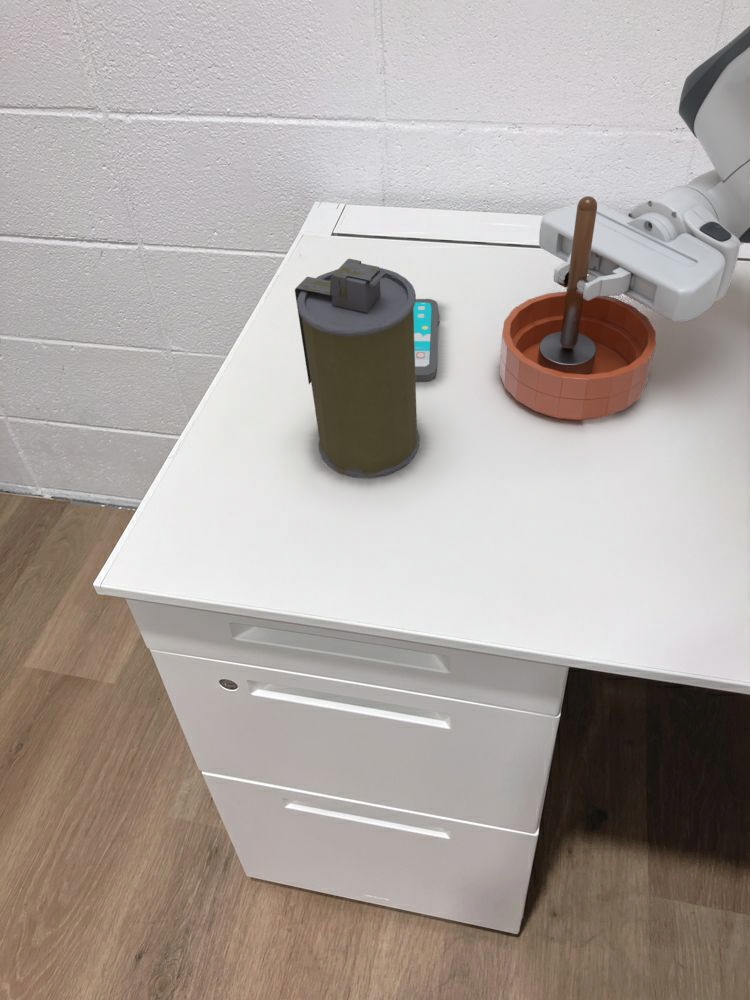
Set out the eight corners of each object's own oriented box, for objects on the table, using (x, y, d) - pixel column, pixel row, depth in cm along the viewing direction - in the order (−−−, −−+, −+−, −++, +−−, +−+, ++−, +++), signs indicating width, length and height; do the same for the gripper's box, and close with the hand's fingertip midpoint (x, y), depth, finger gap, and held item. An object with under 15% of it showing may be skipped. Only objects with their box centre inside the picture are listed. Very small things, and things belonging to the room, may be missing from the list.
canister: (435, 424, 84) (434, 250, 70) (393, 490, 78) (382, 314, 63) (343, 399, 88) (324, 230, 73) (296, 460, 81) (265, 288, 67)
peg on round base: (601, 354, 88) (631, 189, 74) (582, 385, 84) (609, 218, 71) (549, 340, 90) (569, 177, 76) (529, 370, 87) (545, 205, 73)
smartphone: (360, 373, 89) (370, 298, 99) (361, 380, 90) (370, 305, 100) (438, 373, 88) (439, 297, 98) (438, 380, 89) (439, 304, 99)
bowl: (662, 357, 90) (674, 311, 85) (618, 442, 81) (628, 396, 76) (531, 323, 95) (536, 279, 91) (476, 399, 86) (478, 353, 82)
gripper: (597, 175, 88) (502, 216, 83) (755, 247, 76) (655, 300, 71) (589, 228, 93) (499, 270, 88) (737, 304, 81) (642, 357, 76)
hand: (570, 284), depth 80 cm, fingers closed on peg on round base
